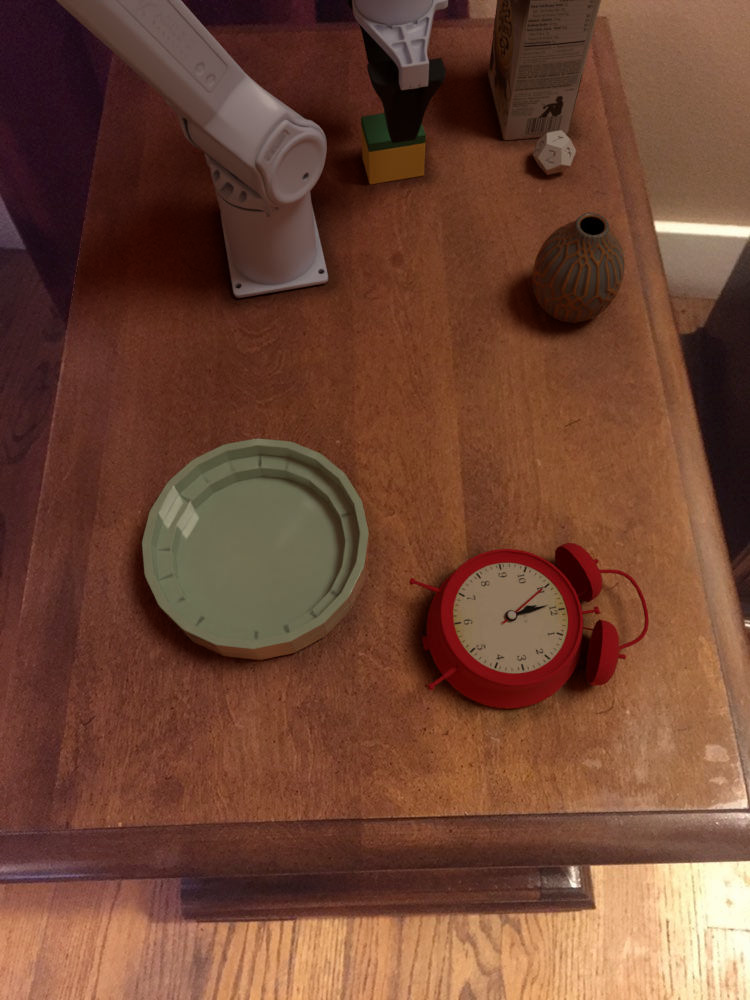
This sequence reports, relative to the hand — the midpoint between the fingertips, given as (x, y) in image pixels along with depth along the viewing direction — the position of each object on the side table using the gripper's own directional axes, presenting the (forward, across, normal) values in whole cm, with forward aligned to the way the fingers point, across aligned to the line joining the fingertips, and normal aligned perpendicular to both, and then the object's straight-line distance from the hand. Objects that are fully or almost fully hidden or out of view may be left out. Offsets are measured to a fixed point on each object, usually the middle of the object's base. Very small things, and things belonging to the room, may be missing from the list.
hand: (393, 106), depth 68 cm
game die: (+7, -3, -14) cm, 16 cm away
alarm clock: (+6, -44, 0) cm, 44 cm away
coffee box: (+7, +5, -14) cm, 16 cm away
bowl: (+6, -35, +17) cm, 39 cm away
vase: (+7, -18, -11) cm, 22 cm away
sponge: (+6, 0, 0) cm, 6 cm away
